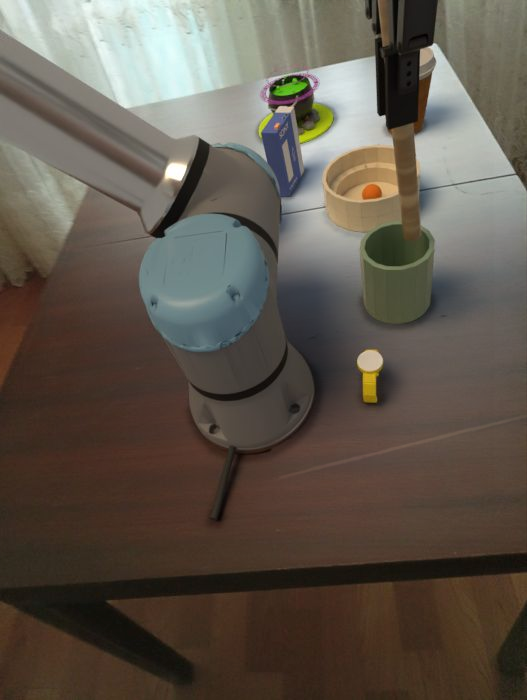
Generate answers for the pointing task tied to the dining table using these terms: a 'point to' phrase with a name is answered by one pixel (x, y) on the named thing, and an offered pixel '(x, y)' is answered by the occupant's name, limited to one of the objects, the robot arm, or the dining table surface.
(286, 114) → the walkman
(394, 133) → the stick
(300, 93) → the toy cauldron
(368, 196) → the ball
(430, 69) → the disposable coffee cup
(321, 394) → the dining table surface
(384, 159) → the mixing bowl
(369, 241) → the crock
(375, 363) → the watch
